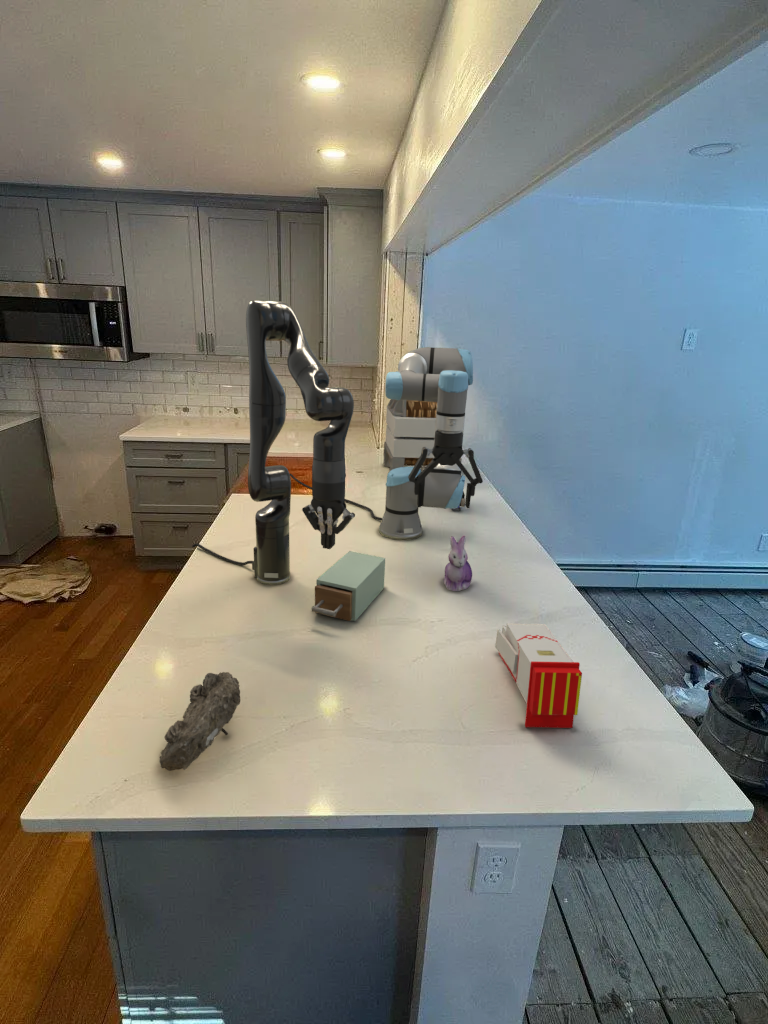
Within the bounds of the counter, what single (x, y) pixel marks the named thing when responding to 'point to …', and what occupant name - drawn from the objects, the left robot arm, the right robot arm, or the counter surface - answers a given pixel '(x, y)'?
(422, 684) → the counter surface
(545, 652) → the toy
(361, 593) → the cabinet
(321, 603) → the drawer
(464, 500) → the figurine character
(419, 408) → the white wooden crate
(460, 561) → the figurine
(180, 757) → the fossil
